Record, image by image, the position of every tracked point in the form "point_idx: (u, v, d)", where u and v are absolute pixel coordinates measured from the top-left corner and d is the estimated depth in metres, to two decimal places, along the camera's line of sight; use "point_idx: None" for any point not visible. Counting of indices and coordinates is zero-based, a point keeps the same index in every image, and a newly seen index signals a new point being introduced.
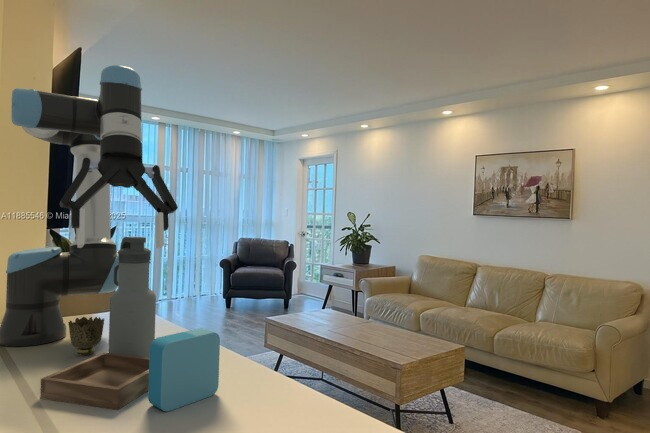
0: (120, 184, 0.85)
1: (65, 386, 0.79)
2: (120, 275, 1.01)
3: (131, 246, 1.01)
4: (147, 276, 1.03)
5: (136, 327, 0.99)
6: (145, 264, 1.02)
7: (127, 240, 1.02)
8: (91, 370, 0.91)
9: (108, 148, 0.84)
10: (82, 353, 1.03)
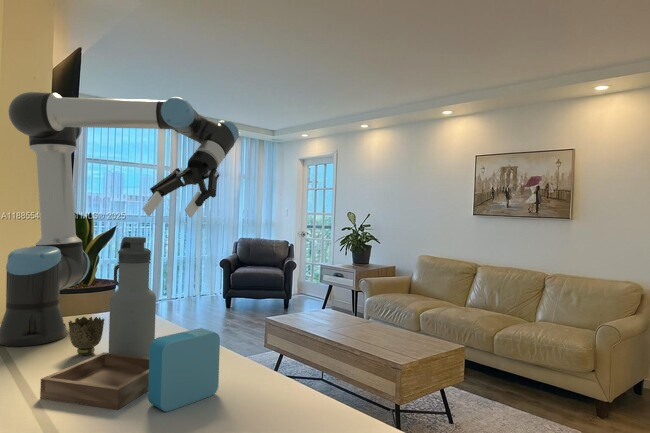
0: (191, 181, 1.20)
1: (65, 386, 0.79)
2: (120, 275, 1.01)
3: (131, 246, 1.01)
4: (147, 276, 1.03)
5: (136, 327, 0.99)
6: (145, 264, 1.02)
7: (127, 240, 1.02)
8: (91, 370, 0.91)
9: None
10: (82, 353, 1.03)
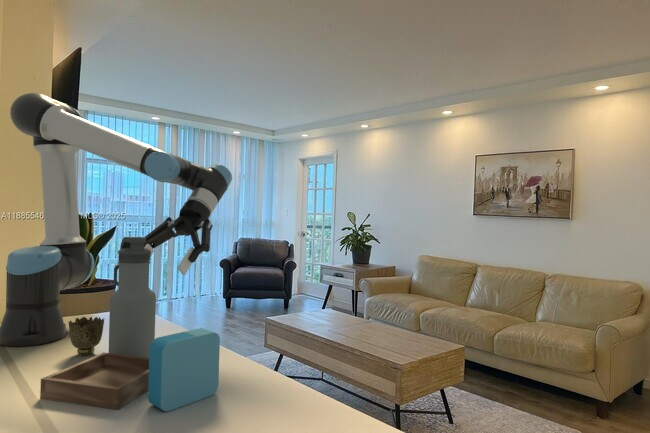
0: (183, 233, 1.17)
1: (65, 386, 0.79)
2: (120, 275, 1.01)
3: (131, 246, 1.01)
4: (147, 276, 1.03)
5: (135, 327, 0.99)
6: (145, 264, 1.02)
7: (127, 240, 1.02)
8: (91, 370, 0.91)
9: None
10: (82, 353, 1.03)
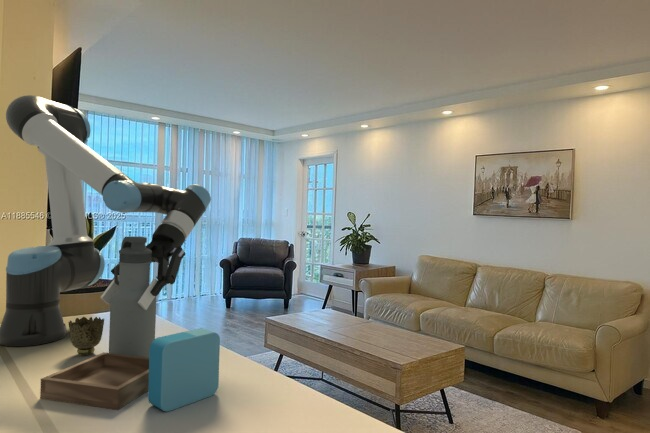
0: (154, 259, 1.09)
1: (65, 386, 0.79)
2: (121, 275, 1.00)
3: (132, 246, 1.00)
4: (148, 276, 1.03)
5: (136, 327, 0.99)
6: (146, 264, 1.02)
7: (128, 240, 1.02)
8: (91, 370, 0.91)
9: None
10: (82, 353, 1.03)
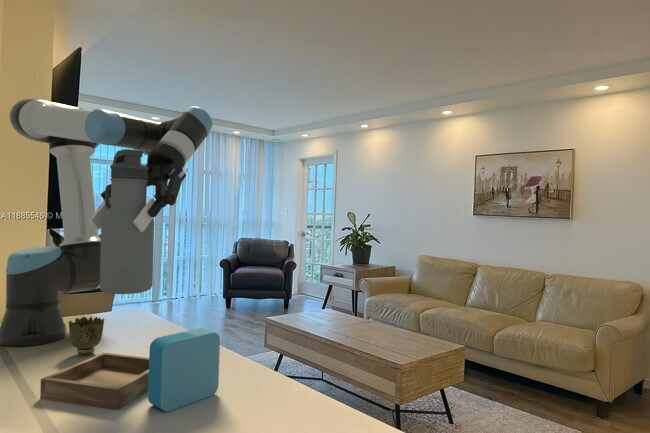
0: (151, 182, 0.96)
1: (65, 386, 0.79)
2: (113, 193, 0.87)
3: (126, 159, 0.87)
4: (144, 196, 0.89)
5: (131, 251, 0.86)
6: (142, 181, 0.88)
7: (121, 153, 0.88)
8: (91, 370, 0.91)
9: None
10: (82, 353, 1.03)
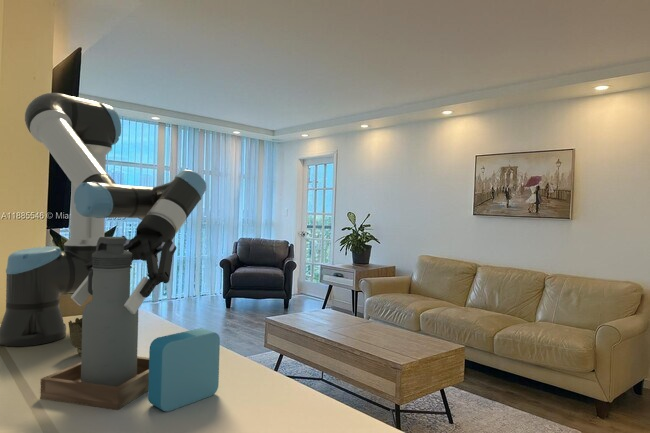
0: (139, 257, 0.92)
1: (65, 386, 0.79)
2: (94, 283, 0.84)
3: (108, 248, 0.84)
4: (127, 284, 0.86)
5: (113, 346, 0.82)
6: (125, 269, 0.85)
7: (103, 241, 0.85)
8: None
9: None
10: None
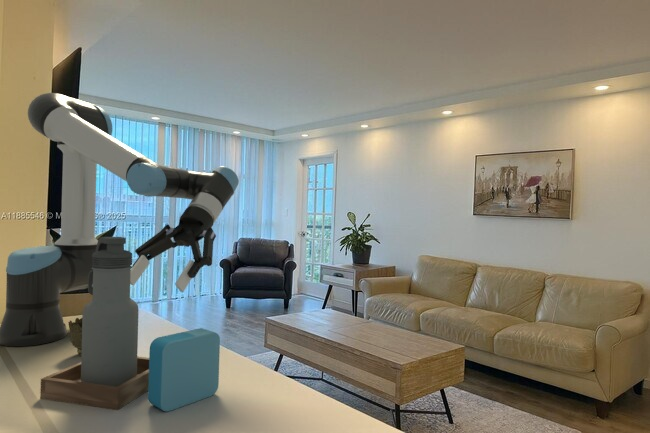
0: (183, 243, 1.04)
1: (65, 386, 0.79)
2: (95, 283, 0.84)
3: (108, 248, 0.84)
4: (128, 284, 0.86)
5: (113, 346, 0.82)
6: (125, 270, 0.85)
7: (103, 241, 0.85)
8: None
9: None
10: None
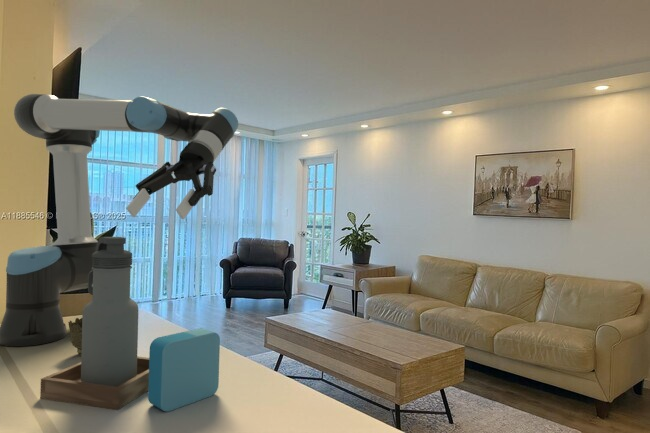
0: (183, 177, 1.04)
1: (65, 386, 0.79)
2: (94, 283, 0.84)
3: (108, 248, 0.84)
4: (128, 284, 0.86)
5: (113, 346, 0.82)
6: (125, 270, 0.85)
7: (103, 241, 0.85)
8: None
9: None
10: None
